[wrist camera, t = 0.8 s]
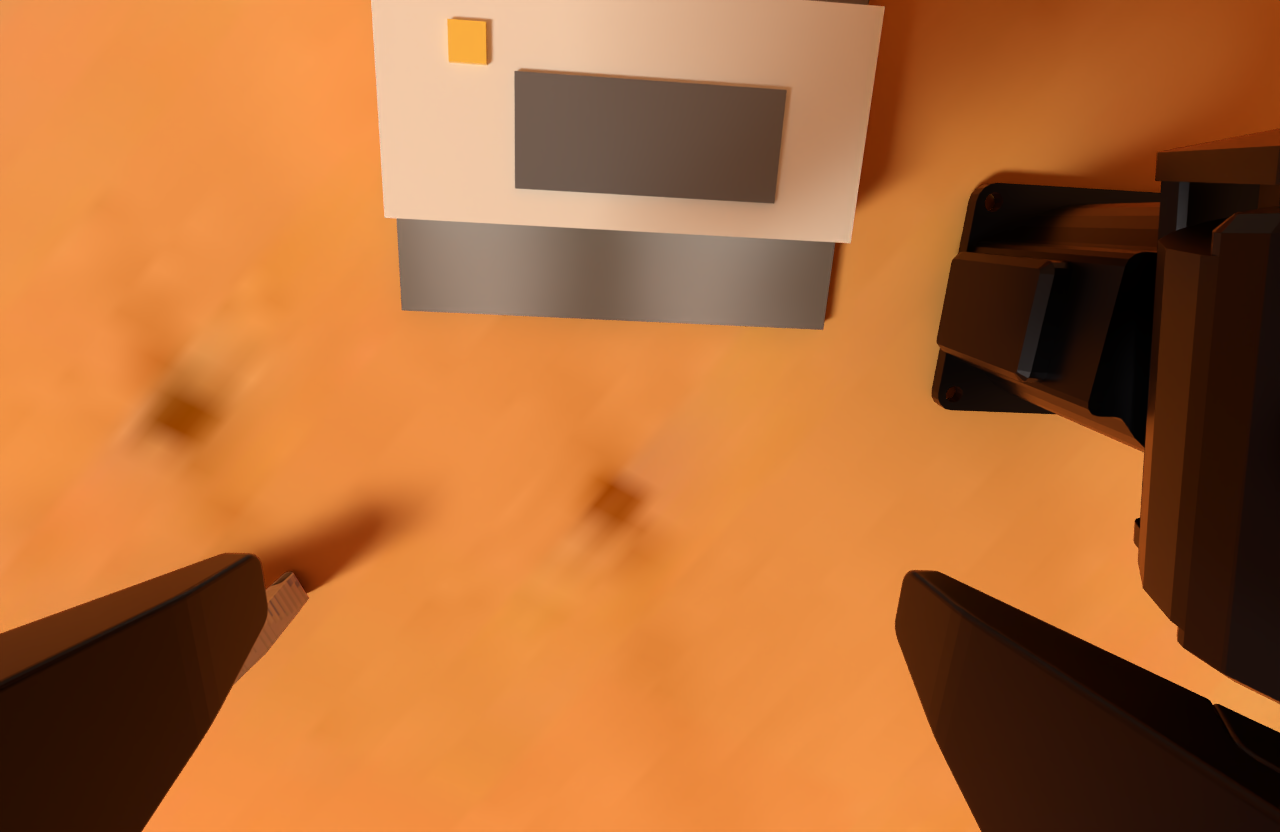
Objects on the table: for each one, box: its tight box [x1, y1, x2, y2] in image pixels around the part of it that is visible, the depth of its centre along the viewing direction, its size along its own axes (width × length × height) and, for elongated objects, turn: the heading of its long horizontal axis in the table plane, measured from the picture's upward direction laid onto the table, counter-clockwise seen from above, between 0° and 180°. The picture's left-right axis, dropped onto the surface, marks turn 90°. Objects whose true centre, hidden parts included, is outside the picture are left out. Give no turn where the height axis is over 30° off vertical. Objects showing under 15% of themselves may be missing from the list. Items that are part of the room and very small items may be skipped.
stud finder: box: [371, 0, 885, 243], centre depth 15 cm, size 11×5×3 cm, turn 87°
